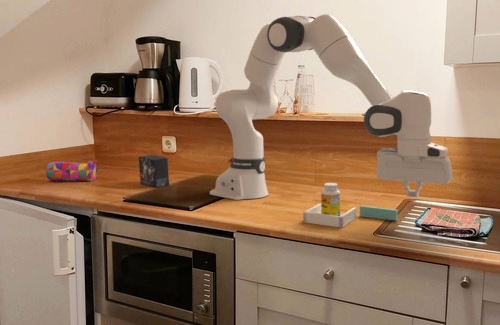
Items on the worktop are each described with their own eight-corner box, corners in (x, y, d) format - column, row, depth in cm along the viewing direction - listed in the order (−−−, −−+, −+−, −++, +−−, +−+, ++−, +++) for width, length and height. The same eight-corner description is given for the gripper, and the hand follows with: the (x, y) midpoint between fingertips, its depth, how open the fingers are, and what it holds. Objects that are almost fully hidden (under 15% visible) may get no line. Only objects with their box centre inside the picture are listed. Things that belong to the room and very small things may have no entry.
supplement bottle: (318, 215, 140) (318, 182, 139) (335, 214, 141) (336, 181, 140) (325, 220, 135) (325, 186, 133) (343, 219, 136) (343, 185, 134)
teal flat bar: (359, 215, 141) (359, 206, 141) (360, 215, 142) (360, 205, 141) (396, 220, 135) (396, 210, 135) (397, 219, 136) (397, 209, 136)
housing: (303, 222, 136) (303, 212, 136) (319, 212, 146) (319, 203, 146) (342, 227, 130) (342, 217, 130) (356, 217, 140) (356, 207, 140)
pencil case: (101, 178, 213) (99, 159, 211) (94, 182, 203) (92, 162, 202) (54, 179, 213) (52, 159, 211) (44, 183, 204) (43, 163, 202)
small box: (139, 183, 198) (138, 156, 196) (153, 181, 202) (152, 154, 200) (155, 188, 188) (153, 159, 186) (169, 185, 192) (168, 157, 191)
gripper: (373, 148, 133) (373, 195, 135) (450, 151, 122) (448, 202, 124) (380, 146, 138) (379, 191, 140) (454, 148, 127) (452, 197, 129)
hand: (412, 196), depth 132 cm, fingers closed
